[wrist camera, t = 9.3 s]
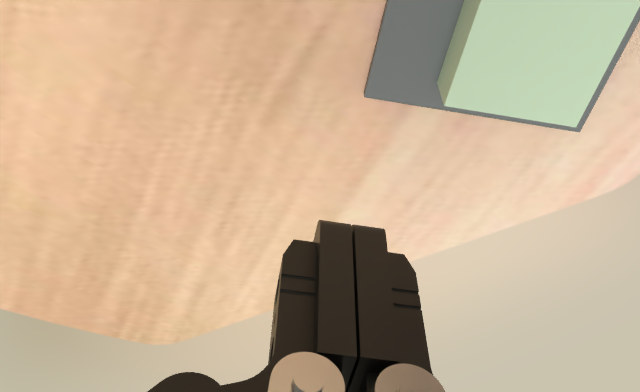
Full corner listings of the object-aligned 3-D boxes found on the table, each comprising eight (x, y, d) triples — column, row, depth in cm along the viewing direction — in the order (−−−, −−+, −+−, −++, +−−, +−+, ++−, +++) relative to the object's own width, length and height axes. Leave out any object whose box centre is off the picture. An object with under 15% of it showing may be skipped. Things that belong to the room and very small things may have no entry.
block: (529, -139, 29) (698, -104, 30) (514, -150, 31) (669, -117, 32) (443, 105, 37) (575, 127, 38) (436, 82, 40) (560, 103, 41)
